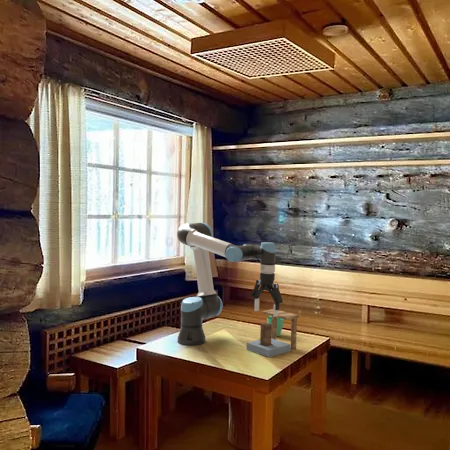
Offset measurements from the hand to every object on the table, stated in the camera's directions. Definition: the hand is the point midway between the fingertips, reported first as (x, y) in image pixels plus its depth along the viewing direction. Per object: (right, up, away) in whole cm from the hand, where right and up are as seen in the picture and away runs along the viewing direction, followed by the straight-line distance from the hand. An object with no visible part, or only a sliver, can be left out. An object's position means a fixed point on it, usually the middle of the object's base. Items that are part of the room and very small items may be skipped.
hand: (265, 313), depth 255 cm
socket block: (+1, -19, +2) cm, 20 cm away
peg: (0, -20, +1) cm, 20 cm away
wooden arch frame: (+8, -19, +8) cm, 22 cm away
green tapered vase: (+7, -18, +32) cm, 38 cm away
